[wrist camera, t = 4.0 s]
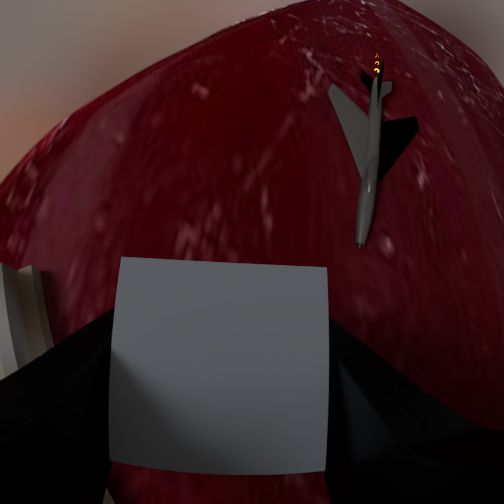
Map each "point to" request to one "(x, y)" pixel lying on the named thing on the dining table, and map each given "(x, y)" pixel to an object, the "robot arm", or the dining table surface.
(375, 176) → the toy airplane
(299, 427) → the block
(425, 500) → the robot arm
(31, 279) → the rail
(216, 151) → the dining table surface
